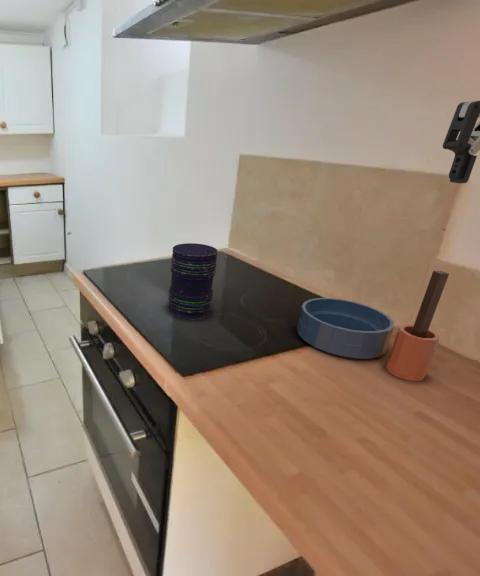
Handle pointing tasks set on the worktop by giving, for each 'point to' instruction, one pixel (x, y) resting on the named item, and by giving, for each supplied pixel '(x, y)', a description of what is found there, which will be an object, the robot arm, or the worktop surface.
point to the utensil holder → (411, 354)
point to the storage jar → (192, 280)
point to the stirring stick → (429, 303)
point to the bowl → (345, 328)
